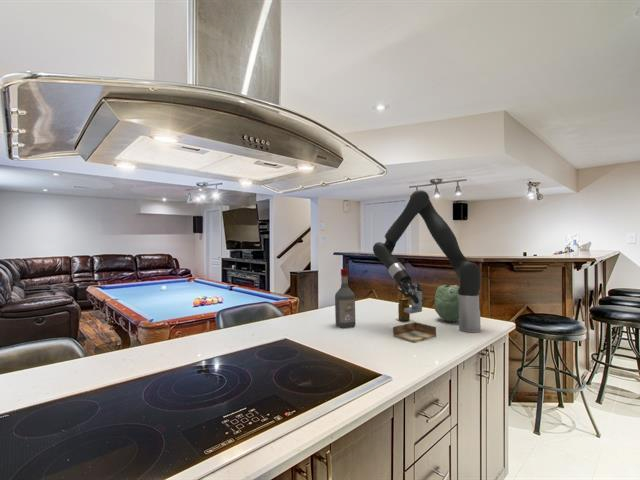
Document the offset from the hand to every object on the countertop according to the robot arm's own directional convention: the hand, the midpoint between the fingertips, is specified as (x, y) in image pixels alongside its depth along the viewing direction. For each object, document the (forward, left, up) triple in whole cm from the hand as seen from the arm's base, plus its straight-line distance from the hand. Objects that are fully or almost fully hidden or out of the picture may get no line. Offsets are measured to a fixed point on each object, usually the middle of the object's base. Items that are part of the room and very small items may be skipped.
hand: (419, 302), depth 148 cm
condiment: (-19, -27, -16) cm, 37 cm away
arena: (+1, -2, -16) cm, 16 cm away
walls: (+1, -2, -16) cm, 16 cm away
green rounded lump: (-37, -11, -16) cm, 42 cm away
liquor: (+14, -38, -16) cm, 43 cm away
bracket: (+3, -2, -4) cm, 5 cm away
